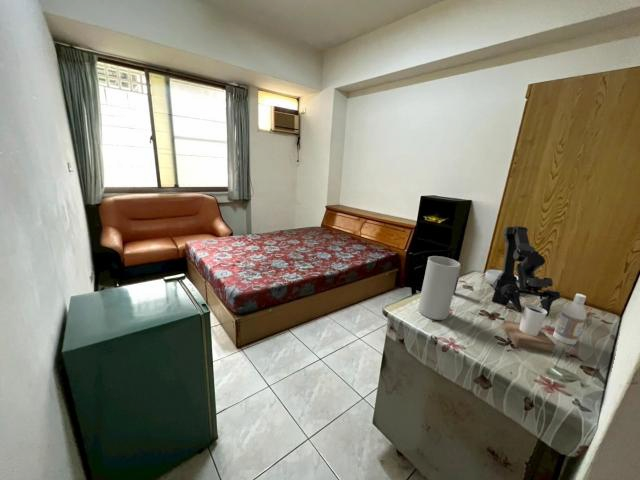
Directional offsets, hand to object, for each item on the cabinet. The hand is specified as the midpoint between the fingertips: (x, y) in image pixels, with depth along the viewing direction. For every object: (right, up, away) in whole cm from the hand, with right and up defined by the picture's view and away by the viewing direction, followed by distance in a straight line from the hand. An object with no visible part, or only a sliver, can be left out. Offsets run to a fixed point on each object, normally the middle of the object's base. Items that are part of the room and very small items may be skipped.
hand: (533, 314), depth 100 cm
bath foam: (+17, -12, +5) cm, 21 cm away
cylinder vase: (-31, -5, +18) cm, 36 cm away
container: (-12, 0, +40) cm, 41 cm away
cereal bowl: (+23, +1, +53) cm, 58 cm away
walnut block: (-1, -11, +3) cm, 12 cm away
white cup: (-1, -7, +2) cm, 8 cm away
